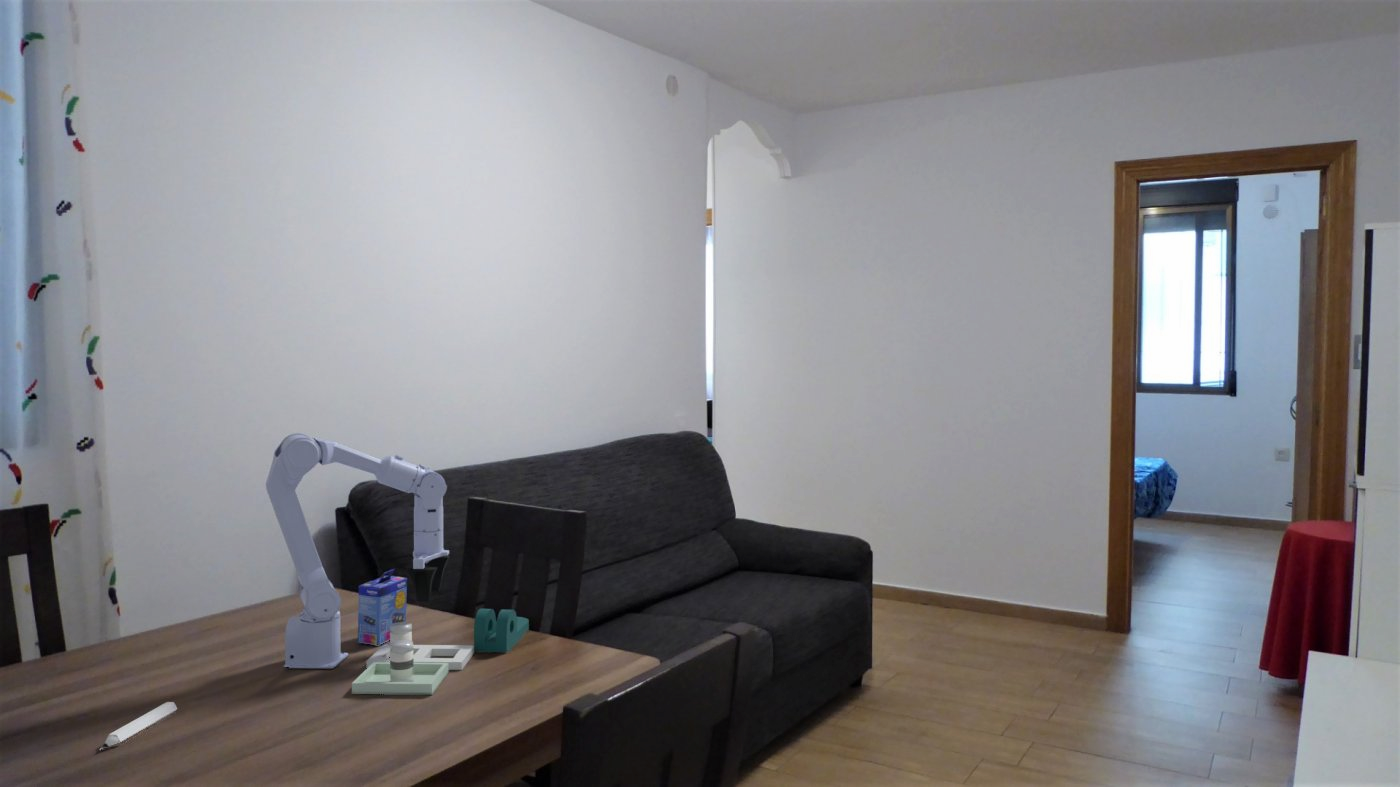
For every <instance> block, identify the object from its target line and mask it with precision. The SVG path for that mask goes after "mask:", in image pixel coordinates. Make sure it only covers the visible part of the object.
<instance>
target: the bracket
mask: <svg viewBox="0 0 1400 787" xmlns="http://www.w3.org/2000/svg"><path fill="white" fill-rule="evenodd" d="M529 621H530V620H529V618H526V617H523V616H517V612H516V610H514V609H500V610H499V612H498V615H497V617H496V612H495V610H494V608H479V609H478V610H477V612H476V616H475V618H474V624H473V645H474V651H475V652H474V653H479V652H478V651H481V652H480V653H491V652H507V653H509V651H511V649H512V648H514V646H515V645H517V643H518V642H519V641H520V640H521V639H522V638H523V637H524V636H525V635H524V633H525V632H526V631H528V632H529V630H530V628H529V627H530V624H529V623H530V622H529ZM523 635H524V636H523ZM522 636H523V637H522ZM521 637H522V638H521ZM476 651H477V652H476ZM482 651H483V652H482Z"/></svg>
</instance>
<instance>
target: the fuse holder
mask: <svg viewBox="0 0 1400 787" xmlns="http://www.w3.org/2000/svg"><path fill="white" fill-rule="evenodd" d="M474 653H475V652H474V644H473V645H472V644H471V645H469V644H468V645H467V644H466V645H465V644H464V645H463V644H462V645H461V644H452V645H451V644H443V645H442V644H413V658H414V663H448V671H463V669H464V668H465V666H466V665H467V664H468V662H469V661H470V660H471V658H472V656H473V655H474ZM389 657H390V644H382V645H381V646H380V648H378V649H377V650H376V651H375V652H374V653H373V654H372V655H371V656H370V657H369V658H368V659H367V660H366V661H365V663H366V664H365V665H366V666H365V667H366V668H368V667H369V666H370V665H371V664H372V663H373V662H390V658H389ZM366 668H365V669H366Z"/></svg>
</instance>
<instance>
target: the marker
mask: <svg viewBox="0 0 1400 787" xmlns="http://www.w3.org/2000/svg"><path fill="white" fill-rule="evenodd" d="M176 710H178V708H177V705H176V704H175V702H174V701H166V702H164V703H162V704H160V705H159V706H157V707H156V708H153V709H152V710H149V711H148V712H146V713H145V714H143V715H141V716H139V717H138V718H136V719H134V720H132V721H130V722H129V723H127V724H125V725H123V726H121V727H119V728H118V729H116V730H115V731H113V732H111V733H109V734H108V735H107V737H106V739H105V742H104V743H103V744H102V746H101V747H100V748H99V751H101V749H102V750H104V749H103V748H106V747H108V746H111V745H114V744H117V743H120V742H122V741H124V740H126V739H127V738H129V737H131V736H133V735H134V734H136V733H138V732H139V731H141V730H143V729H145V728H146V727H148V726H150V725H152V724H154V723H156V722H157V721H159V720H161V719H162V718H164V717H166V716H167V715H169V714H171V713H173V712H174V711H176ZM176 712H177V711H176Z"/></svg>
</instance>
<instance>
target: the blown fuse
mask: <svg viewBox="0 0 1400 787" xmlns="http://www.w3.org/2000/svg"><path fill="white" fill-rule="evenodd" d="M389 645H390V682H413V681H414V672H413V666H414V658H413V645H414V641H413V640H412V641H410V640H398V641H394V642H392V643H389Z"/></svg>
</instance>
